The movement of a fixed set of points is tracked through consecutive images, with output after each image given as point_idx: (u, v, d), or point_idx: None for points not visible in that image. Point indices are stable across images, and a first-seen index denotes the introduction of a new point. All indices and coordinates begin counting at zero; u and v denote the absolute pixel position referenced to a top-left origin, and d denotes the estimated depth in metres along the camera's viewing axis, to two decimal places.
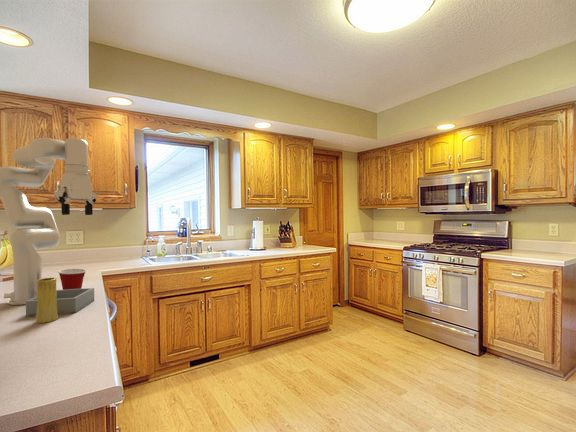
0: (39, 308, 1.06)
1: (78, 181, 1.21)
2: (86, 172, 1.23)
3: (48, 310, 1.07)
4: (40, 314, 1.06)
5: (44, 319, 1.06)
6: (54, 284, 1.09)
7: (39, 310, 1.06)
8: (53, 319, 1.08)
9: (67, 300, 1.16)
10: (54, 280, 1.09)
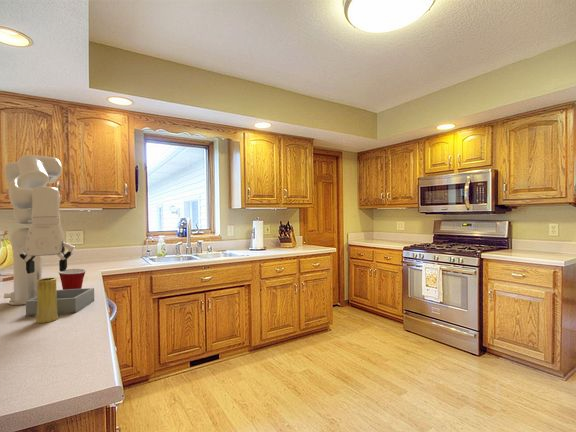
0: (39, 308, 1.06)
1: None
2: None
3: (48, 310, 1.07)
4: (40, 314, 1.06)
5: (44, 319, 1.06)
6: (54, 284, 1.09)
7: (39, 310, 1.06)
8: (53, 319, 1.08)
9: (67, 300, 1.16)
10: (54, 280, 1.09)
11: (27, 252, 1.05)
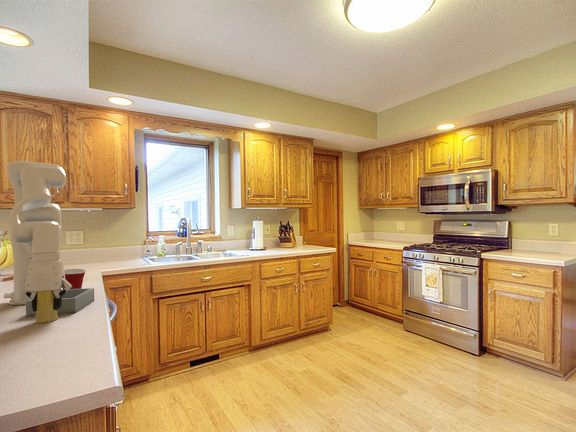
0: (39, 308, 1.06)
1: None
2: None
3: (48, 310, 1.07)
4: (40, 314, 1.06)
5: (44, 319, 1.06)
6: None
7: (39, 310, 1.06)
8: (53, 319, 1.08)
9: (67, 300, 1.16)
10: None
11: (27, 288, 1.05)
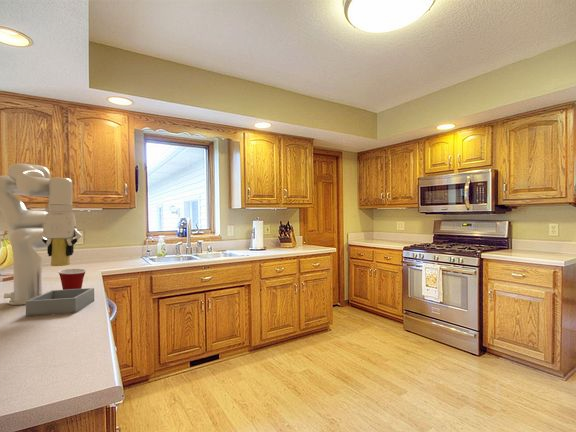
0: (54, 253, 1.21)
1: None
2: None
3: (61, 255, 1.21)
4: (54, 258, 1.20)
5: (58, 263, 1.21)
6: None
7: (54, 255, 1.21)
8: (65, 264, 1.22)
9: (67, 300, 1.16)
10: None
11: (44, 235, 1.20)
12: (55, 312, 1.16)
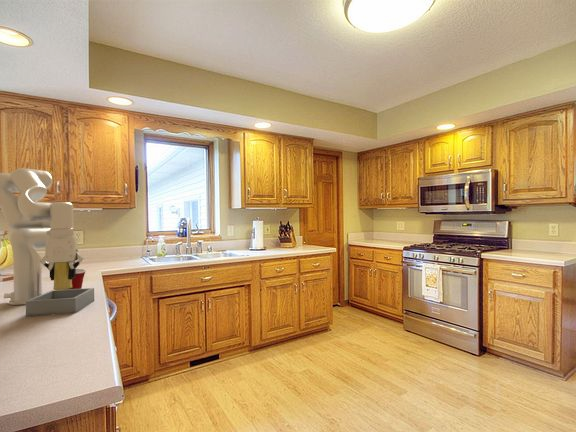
0: (56, 277, 1.21)
1: None
2: None
3: (64, 279, 1.22)
4: (57, 282, 1.21)
5: (60, 287, 1.21)
6: None
7: (56, 279, 1.21)
8: (68, 287, 1.23)
9: (67, 300, 1.16)
10: None
11: (46, 259, 1.21)
12: (55, 312, 1.16)
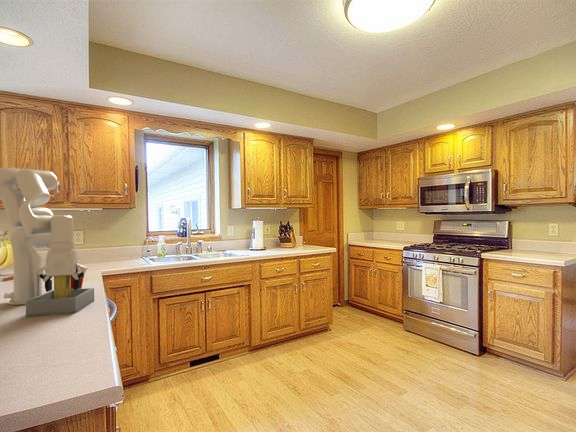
0: (56, 294, 1.22)
1: None
2: None
3: (63, 296, 1.22)
4: None
5: None
6: None
7: (56, 296, 1.21)
8: None
9: (67, 300, 1.16)
10: None
11: (46, 273, 1.21)
12: (55, 312, 1.16)
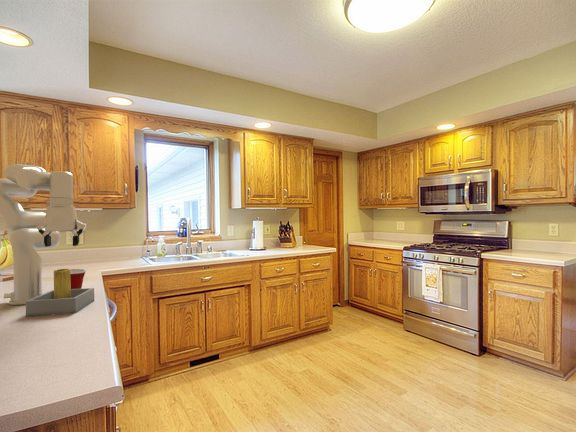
0: (56, 295, 1.21)
1: None
2: None
3: (63, 297, 1.22)
4: None
5: None
6: (68, 274, 1.24)
7: (56, 297, 1.21)
8: None
9: (67, 300, 1.16)
10: (68, 271, 1.24)
11: (45, 228, 1.21)
12: (55, 312, 1.16)
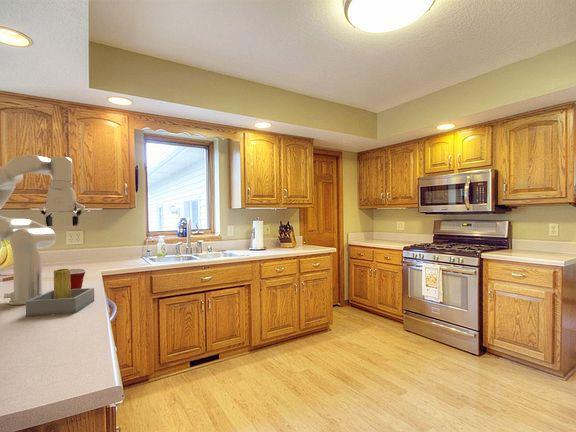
0: (56, 295, 1.21)
1: None
2: None
3: (63, 297, 1.22)
4: None
5: None
6: (68, 274, 1.24)
7: (56, 297, 1.21)
8: None
9: (67, 300, 1.16)
10: (68, 271, 1.24)
11: (47, 209, 1.31)
12: (55, 312, 1.16)
